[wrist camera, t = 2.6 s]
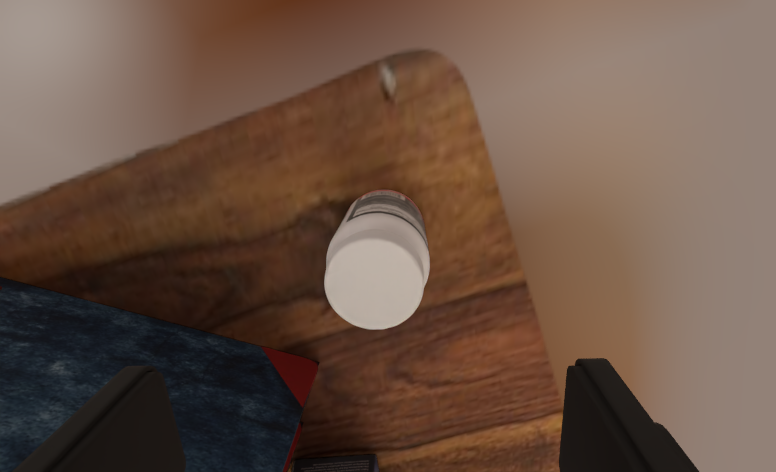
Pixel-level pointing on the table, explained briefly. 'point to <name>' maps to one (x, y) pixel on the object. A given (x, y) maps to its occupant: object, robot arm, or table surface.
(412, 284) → the pill bottle
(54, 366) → the book
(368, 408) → the table surface
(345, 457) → the small box
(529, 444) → the table surface
